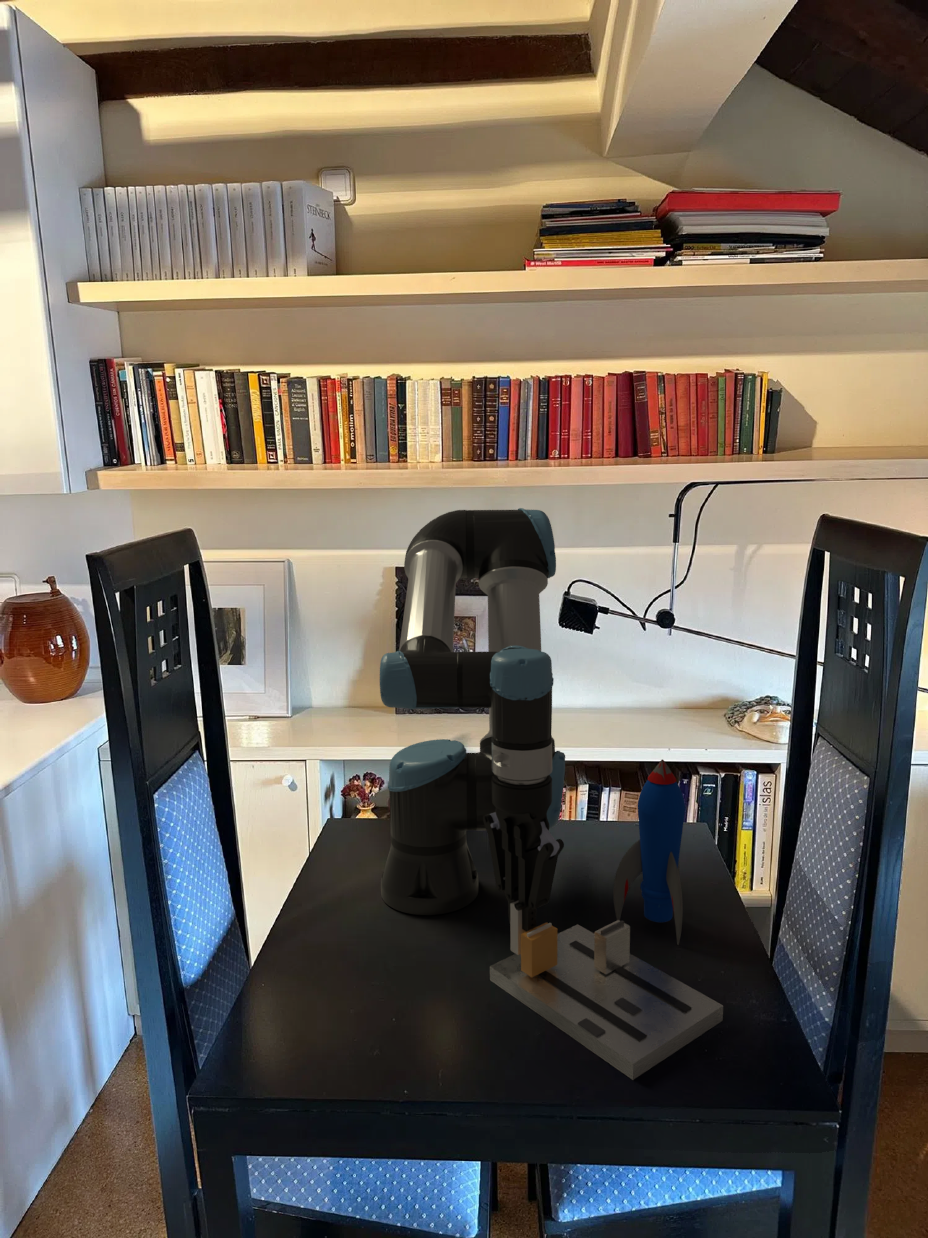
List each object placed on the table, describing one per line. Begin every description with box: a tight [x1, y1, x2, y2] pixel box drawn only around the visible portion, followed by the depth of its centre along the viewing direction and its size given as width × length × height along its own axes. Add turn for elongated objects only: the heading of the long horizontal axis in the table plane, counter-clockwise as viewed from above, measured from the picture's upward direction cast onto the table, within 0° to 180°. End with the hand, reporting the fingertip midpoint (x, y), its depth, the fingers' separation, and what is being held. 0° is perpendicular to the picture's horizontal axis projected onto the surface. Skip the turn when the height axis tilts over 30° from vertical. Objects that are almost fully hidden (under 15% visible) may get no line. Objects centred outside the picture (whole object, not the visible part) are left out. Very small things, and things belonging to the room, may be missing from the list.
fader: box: [521, 922, 558, 977], centre depth 112 cm, size 2×4×5 cm, turn 129°
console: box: [489, 919, 724, 1081], centre depth 109 cm, size 24×16×8 cm, turn 38°
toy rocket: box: [612, 759, 686, 946], centre depth 125 cm, size 11×10×25 cm
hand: (522, 949), depth 114 cm, fingers closed
